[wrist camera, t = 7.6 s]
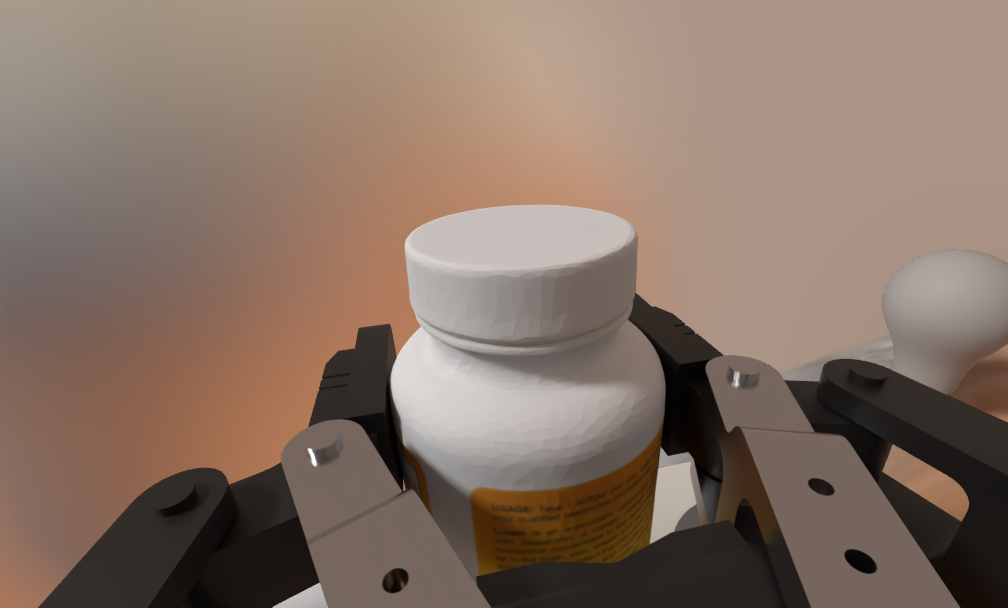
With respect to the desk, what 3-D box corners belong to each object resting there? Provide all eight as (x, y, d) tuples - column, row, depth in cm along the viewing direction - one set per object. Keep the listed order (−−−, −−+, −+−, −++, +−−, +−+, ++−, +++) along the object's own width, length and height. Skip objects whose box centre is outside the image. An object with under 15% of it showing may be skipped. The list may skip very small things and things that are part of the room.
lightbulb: (1004, 442, 27) (1092, 265, 22) (908, 456, 27) (978, 278, 22) (909, 383, 33) (964, 231, 28) (828, 394, 32) (870, 241, 27)
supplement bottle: (667, 556, 13) (716, 205, 9) (590, 783, 9) (616, 325, 5) (502, 482, 16) (481, 188, 11) (385, 628, 11) (287, 254, 7)
